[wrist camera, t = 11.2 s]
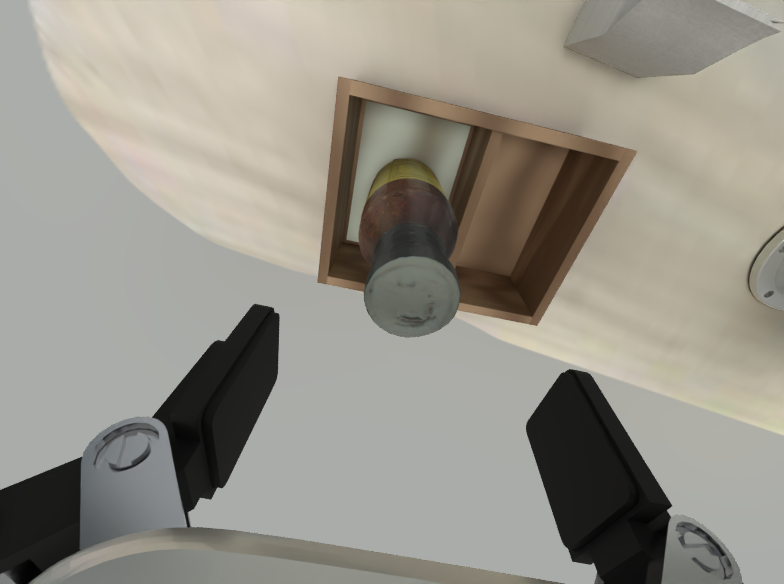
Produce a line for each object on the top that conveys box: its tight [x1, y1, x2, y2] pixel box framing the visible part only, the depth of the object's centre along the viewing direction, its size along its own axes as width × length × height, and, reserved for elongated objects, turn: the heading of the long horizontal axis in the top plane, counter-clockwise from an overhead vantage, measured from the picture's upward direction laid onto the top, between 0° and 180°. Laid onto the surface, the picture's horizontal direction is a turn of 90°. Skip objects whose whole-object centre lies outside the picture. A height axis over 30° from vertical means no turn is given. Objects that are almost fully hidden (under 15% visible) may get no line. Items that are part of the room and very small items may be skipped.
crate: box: [318, 77, 637, 326], centre depth 28 cm, size 20×15×8 cm
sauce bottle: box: [358, 158, 461, 337], centre depth 22 cm, size 7×6×20 cm
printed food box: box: [564, 0, 784, 78], centre depth 20 cm, size 4×7×10 cm, turn 73°
